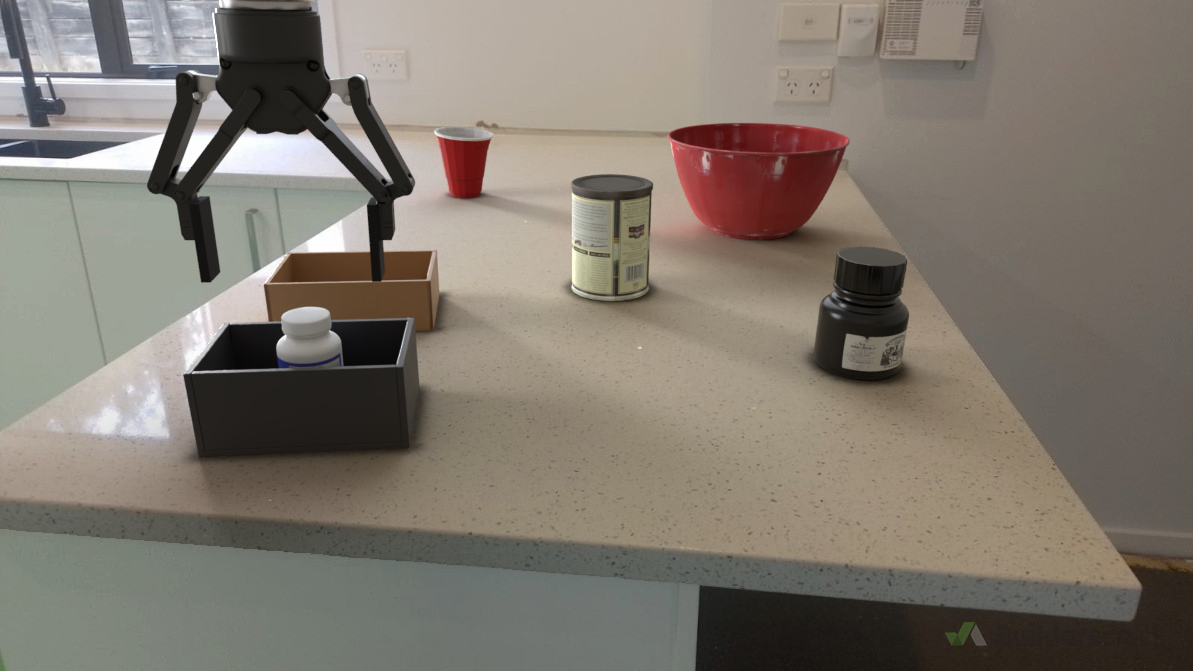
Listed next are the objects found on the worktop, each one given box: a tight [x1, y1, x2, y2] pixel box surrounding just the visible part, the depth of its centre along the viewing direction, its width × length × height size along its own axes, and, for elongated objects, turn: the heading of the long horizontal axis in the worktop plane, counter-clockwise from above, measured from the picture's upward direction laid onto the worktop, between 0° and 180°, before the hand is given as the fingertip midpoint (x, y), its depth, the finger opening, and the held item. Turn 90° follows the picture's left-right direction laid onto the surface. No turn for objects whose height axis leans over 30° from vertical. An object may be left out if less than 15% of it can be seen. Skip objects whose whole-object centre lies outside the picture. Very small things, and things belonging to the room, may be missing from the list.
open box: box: [182, 318, 421, 458], centre depth 74 cm, size 17×11×8 cm, turn 97°
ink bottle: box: [813, 245, 910, 381], centre depth 87 cm, size 10×9×12 cm
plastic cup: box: [433, 126, 495, 199], centre depth 156 cm, size 11×11×12 cm
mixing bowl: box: [667, 122, 851, 241], centre depth 136 cm, size 28×28×16 cm
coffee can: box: [570, 173, 654, 302], centre depth 108 cm, size 10×10×14 cm
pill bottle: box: [276, 307, 343, 368], centre depth 74 cm, size 5×5×10 cm
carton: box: [263, 249, 440, 332], centre depth 99 cm, size 18×12×6 cm, turn 97°
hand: (295, 277), depth 70 cm, fingers open, 13 cm apart
